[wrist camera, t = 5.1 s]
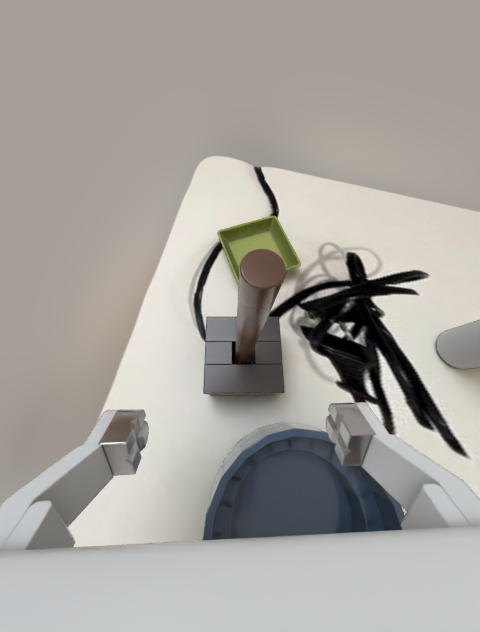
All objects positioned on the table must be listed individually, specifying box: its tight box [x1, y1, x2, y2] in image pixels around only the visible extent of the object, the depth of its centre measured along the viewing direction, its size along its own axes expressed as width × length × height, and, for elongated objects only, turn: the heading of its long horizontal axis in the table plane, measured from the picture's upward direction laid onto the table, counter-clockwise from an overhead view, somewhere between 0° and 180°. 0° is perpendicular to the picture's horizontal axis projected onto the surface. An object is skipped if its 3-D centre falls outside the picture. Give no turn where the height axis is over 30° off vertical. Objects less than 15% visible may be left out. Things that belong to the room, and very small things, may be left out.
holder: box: [203, 317, 284, 395], centre depth 24 cm, size 7×7×5 cm
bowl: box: [203, 422, 405, 540], centre depth 19 cm, size 15×15×6 cm
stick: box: [235, 249, 286, 364], centre depth 17 cm, size 2×2×20 cm
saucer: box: [217, 216, 301, 284], centre depth 31 cm, size 9×9×2 cm
